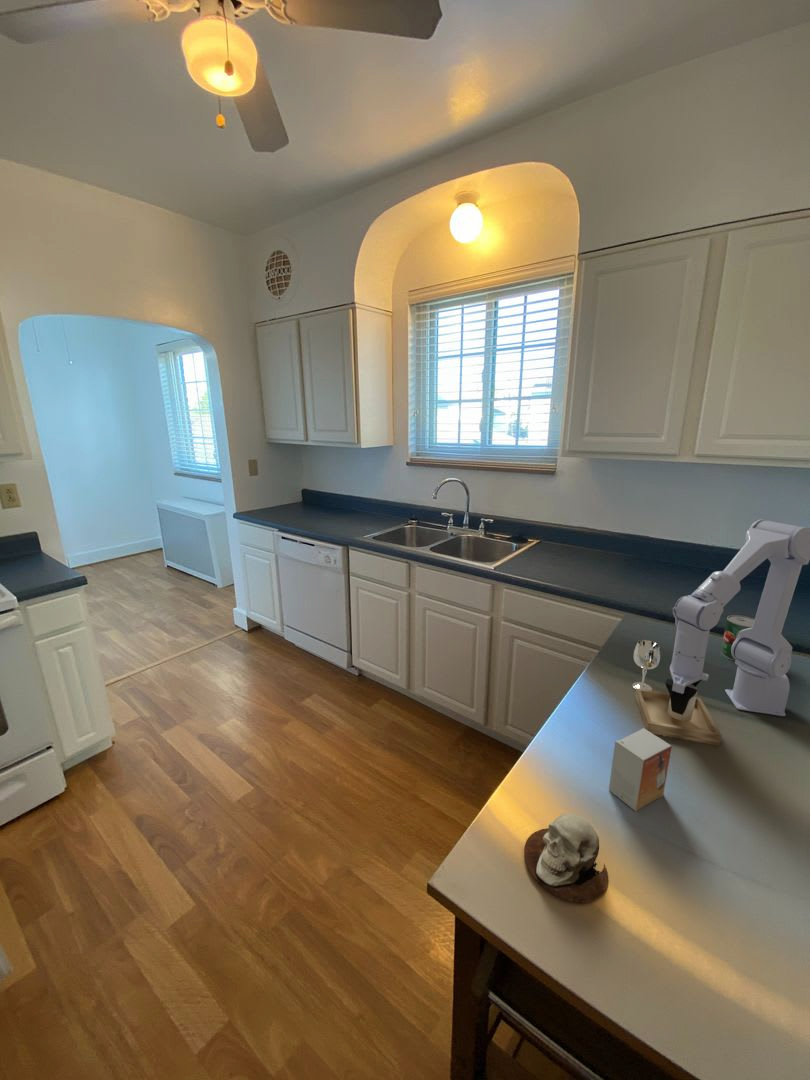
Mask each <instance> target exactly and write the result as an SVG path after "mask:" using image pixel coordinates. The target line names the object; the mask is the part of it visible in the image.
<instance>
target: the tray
mask: <svg viewBox="0 0 810 1080" xmlns="http://www.w3.org/2000/svg"><path fill="white" fill-rule="evenodd" d="M634 699H636V700H635V703H636V702H637V703H636V705H638V706H637V708H639V709H638V712H639V711H640V712H639V715H640V714H641V715H640V718H641V720H642V724H643V728H644V729H646V730H647V731H649V732H651V733H652V734H659V735H658V736H660V735H665V736H664V737H666V736H669V737H668V738H672V737H675V738H674V739H677V738H680V740H683V739H684V741H689V740H690V742H696V743H701V744H707V745H713V746H720V745H721V741H722V734H721V731H720V730H719V729H718V726H717V725H716V723H715V722H714V719H713V717H712V716H711V714H710V712H709V711H708V709H707V707H706V705H705V704H704V702H703V701H702V698H701V697H697V696H696V701H695V705H694V710H693V715H692V719H691V720H690V721H681V720H677V719H675V718H673V717H672V716H670V715H669V713H668V706H669V701H670V694H669V692H665V691H664V692H663V691H658V690H652V691H651V690H644V689H638V688H636V689H635V693H634Z"/></svg>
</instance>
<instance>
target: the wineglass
mask: <svg viewBox="0 0 810 1080" xmlns="http://www.w3.org/2000/svg"><path fill="white" fill-rule="evenodd" d="M633 661H634V663H635V664H636V666H638V667H640V668H642V679H641V681H636V682H633V683H632V685H631V686H632V688H633V689H635V690H636V688H638V689H644V690H651V691H653V688H652V686H650V685H649V684H647V683H645V677H646V674H647V672H648V670H654V669H655V668H657V667H658V666H659V663H660V661H661V651H660V645H659V644H658V643H656V642H655V641H652V640H649V639H648V640H647V639H640V640H638V641H637V643H636V645H635V647H634V650H633Z"/></svg>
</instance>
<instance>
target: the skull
mask: <svg viewBox="0 0 810 1080" xmlns="http://www.w3.org/2000/svg"><path fill="white" fill-rule="evenodd" d="M599 850H600V838H599V835H598V834H597V832H596V830H595V829H594V827H593V826H592V824H591V822H589V821H588V820H586V819H585V818H583V817H582V816H579V815H577V814H575V813H569V812H568V813H562V814H560V815H559V816H558V817H556V818H555V819H554V820H553V821H551V822H550V823H549V825H548V828H547V827H546V828H541V829H538V830H536V831H534V832H533V833H532V834H530V835H529V836H528V838H527V839H526V841H525V843H524V849H523V855H524V860H525V863H526V866H527V868H528V869H529V872H530V873H531V874H532V876H533V877H534V879H535V881H536V882H537V883H538V884H539V885H541V886H542V888H544V889H545V890H546V891H548V892H549V893H551V894H553V895H555V896H556V897H558V898H561V899H562V900H566V901H569V902H573V903H580V904H583V903H593V902H594V901H596V900H597V899H600V898H601V897H602V896H603V895H604V894H605V893H606V891H607V889H608V885H609V873H608V870H607V866H606V864H605V863H603V869H602V870H601V871H600V870H597V869H595V868H597V865H598V863H597V862H596V861H597V858H598V855H599V852H600V851H599Z"/></svg>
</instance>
